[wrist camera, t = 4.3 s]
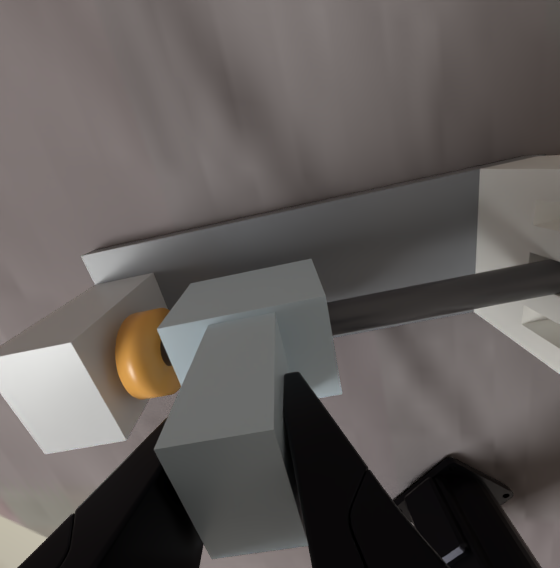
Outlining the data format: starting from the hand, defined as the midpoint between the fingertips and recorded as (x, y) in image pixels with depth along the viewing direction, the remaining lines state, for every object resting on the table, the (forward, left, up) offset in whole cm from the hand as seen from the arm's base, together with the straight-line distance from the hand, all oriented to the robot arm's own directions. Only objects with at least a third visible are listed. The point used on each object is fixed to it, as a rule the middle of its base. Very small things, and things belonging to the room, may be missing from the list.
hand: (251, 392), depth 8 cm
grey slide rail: (-2, -2, -8) cm, 8 cm away
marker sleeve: (0, 0, -5) cm, 5 cm away
